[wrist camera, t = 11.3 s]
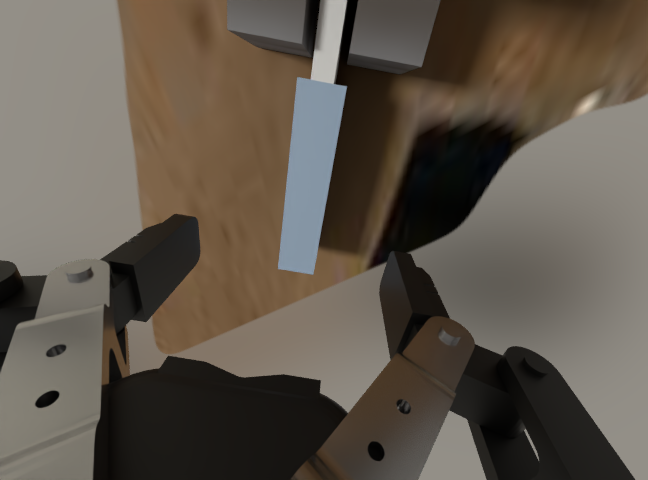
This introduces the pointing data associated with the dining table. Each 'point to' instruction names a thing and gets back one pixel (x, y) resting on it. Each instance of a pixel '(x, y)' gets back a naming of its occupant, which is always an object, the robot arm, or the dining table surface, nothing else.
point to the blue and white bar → (313, 143)
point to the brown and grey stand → (367, 36)
